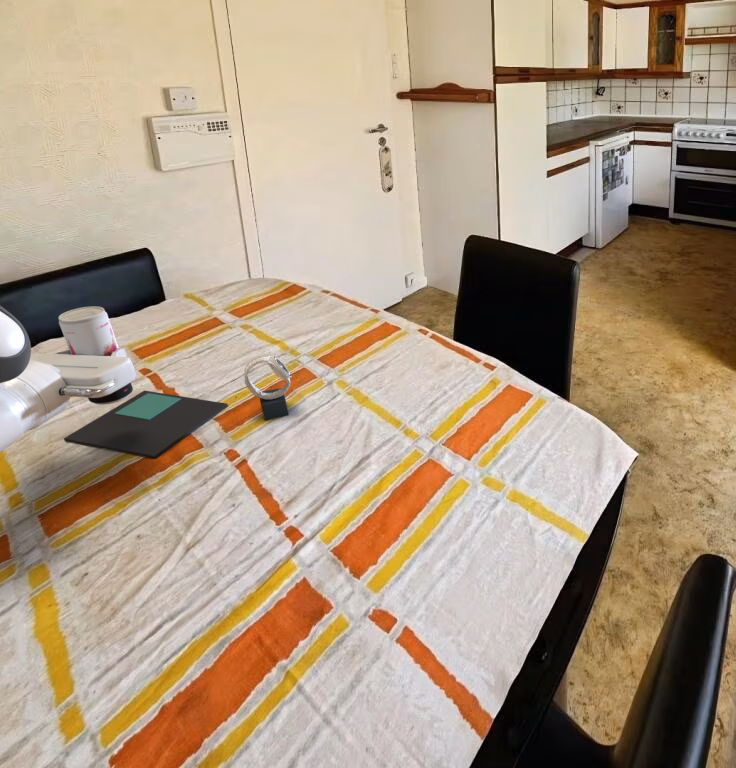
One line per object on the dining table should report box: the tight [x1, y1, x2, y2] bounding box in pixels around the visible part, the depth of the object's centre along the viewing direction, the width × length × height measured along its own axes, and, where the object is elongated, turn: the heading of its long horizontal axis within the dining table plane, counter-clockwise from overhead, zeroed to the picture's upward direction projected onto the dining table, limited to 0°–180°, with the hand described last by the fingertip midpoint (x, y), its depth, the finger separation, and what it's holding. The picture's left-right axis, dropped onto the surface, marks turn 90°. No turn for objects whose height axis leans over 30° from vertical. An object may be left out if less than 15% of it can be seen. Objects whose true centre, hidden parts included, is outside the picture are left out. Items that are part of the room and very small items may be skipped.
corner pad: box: [115, 393, 181, 420], centre depth 118 cm, size 8×8×1 cm
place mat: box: [63, 390, 229, 460], centre depth 114 cm, size 20×18×1 cm
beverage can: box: [58, 306, 134, 406], centre depth 102 cm, size 7×7×15 cm
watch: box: [243, 355, 292, 421], centre depth 115 cm, size 6×8×11 cm
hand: (99, 351), depth 102 cm, fingers closed on beverage can, 6 cm apart
